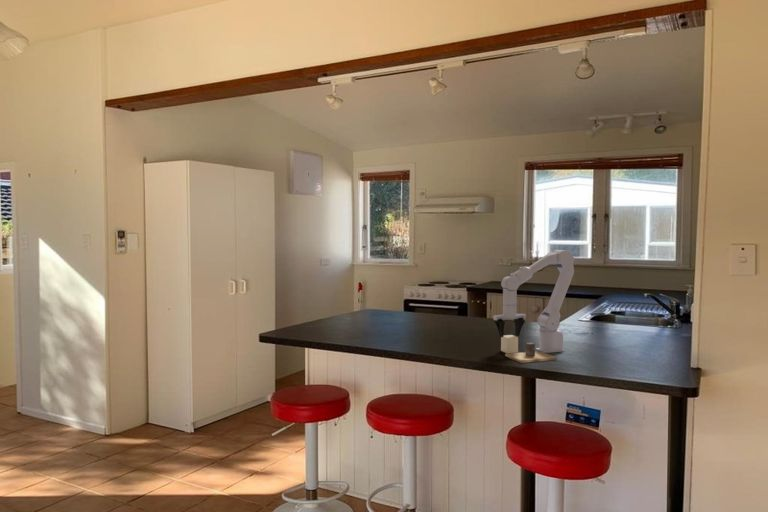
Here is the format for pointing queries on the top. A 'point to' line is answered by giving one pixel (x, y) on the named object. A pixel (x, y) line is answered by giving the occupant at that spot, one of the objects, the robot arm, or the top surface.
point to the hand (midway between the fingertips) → (509, 336)
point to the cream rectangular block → (509, 344)
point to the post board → (529, 359)
